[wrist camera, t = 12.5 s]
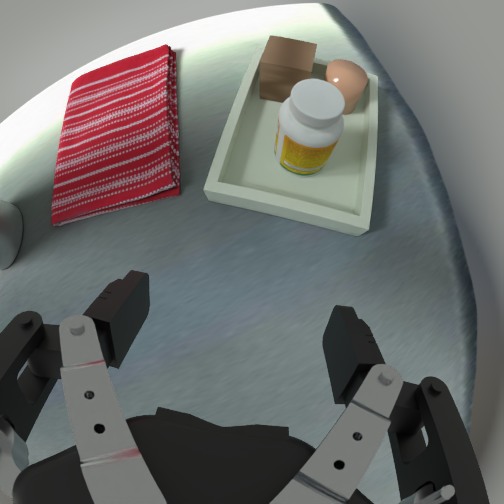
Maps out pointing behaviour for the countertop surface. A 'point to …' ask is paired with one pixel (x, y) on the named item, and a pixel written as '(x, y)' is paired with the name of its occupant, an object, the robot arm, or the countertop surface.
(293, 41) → the walnut block
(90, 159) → the dish towel
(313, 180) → the tray
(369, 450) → the robot arm
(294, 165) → the supplement bottle
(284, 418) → the countertop surface
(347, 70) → the peach rounded cylinder
